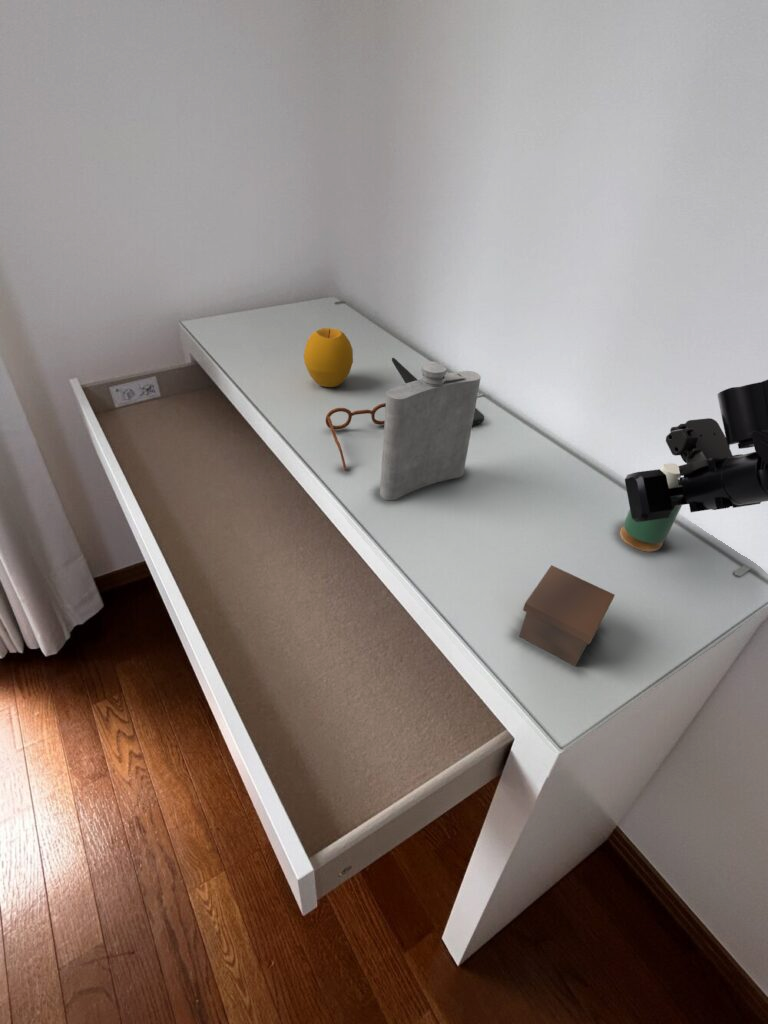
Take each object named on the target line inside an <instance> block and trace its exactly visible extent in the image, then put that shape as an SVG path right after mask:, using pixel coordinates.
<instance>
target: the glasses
mask: <svg viewBox="0 0 768 1024" xmlns="http://www.w3.org/2000/svg"><path fill="white" fill-rule="evenodd" d="M382 408H386V402H384V403H380V404H377V405H376V406H374V407H373V408H372V410H371V409H360V410H359V409H358V410H354V411H352V410H350V409H348V408H346V407H335V408H333V409H331V410H330V411H328V412H327V414H326V416H325V425H326V426H327V428H329V429H330V430H331V434H332V437H333V439H334V442H335V444H336V446H337V448H338V451H339V454H340V458H341V462H342V467H343V471H347V469H348V468H347V464H346V461H345V457H344V453H343V449H342V446H341V443H340V441H339V439H338V437H337V433H336V431H335V430H342V429H345V428H347V427H348V426H349V425H350V424H351V421H352V418H353V416H357V415H365V414H366V415H367V414H370V417H371V420H372V422H373V423H374V424H376V425H379V426H380V425H385V420H378V419H376V412H378V410H380V409H382ZM339 412H343V413H346V415H348V416H347V420H346V422H344V423H343V424H340V425H333V422H332V419H331V416H332V415H333V414H336V413H339Z"/></svg>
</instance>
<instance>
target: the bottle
mask: <svg viewBox="0 0 768 1024" xmlns="http://www.w3.org/2000/svg"><path fill="white" fill-rule="evenodd" d="M679 466H680V465H678V464H676V463H672V462H665V463H663V464H662V467H661V468H660V470H661V471H662V472H663V473H664V474H665V475H666V477H667V483H668V487H669V488H676V487H681V485H680V486H679V484H678V478H680V477H682V476H681V475H680V471H679ZM679 497H683V495H679V496H672V497H671V498H679ZM682 506H683V505H678V506H675V508H674V510H673V511H672V512H671V514H670V516H669V518H663V519H656V520H650V521H643V522H635V521H634V520H633V519H632V517H631V511H630V509H629V510H628V512H627V515H626V517H625V519H624V522H623V526H624V528H625V530H626V531H627V532H628V533H629V534H630V535H631V536H632V537H634V538H635V539H637V540H640V541H642V542H646V543H660V542H662V541H663V542H664V541H665V540H666V539H667V537H668V535H669V534H670V531H671V529H672V527H673V525H674V523H675V520H676V519H677V516H678V515H679V513H680V511H681V508H682Z"/></svg>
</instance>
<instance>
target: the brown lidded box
mask: <svg viewBox="0 0 768 1024" xmlns="http://www.w3.org/2000/svg"><path fill="white" fill-rule="evenodd" d="M615 596H616V594H614V593H612V592H610V591H608V590H606V589H603V588H601V587H599V586H597V585H595V584H593V583H591V582H589V581H587V580H584V579H582V578H580V577H578V576H576V575H574V574H572V573H569V572H567V571H565V570H563V569H561V568H559V567H557V566H554V565H550V566H549V568H548V569H547V570H546V572H545V573H544V575H543V576H542V578H541V579H540V581H539V582H538V584H537V585H536V586H535V588H534V589H533V591H532V592H531V594H530V595H529V597H528V598H527V599H526V601H525V602H524V605H523V608H522V611H523V612H525V616H524V619H523V622H522V625H521V628H520V630H519V633H518V637H519V638H521V639H523V640H525V641H527V642H529V643H530V644H533V645H535V646H536V647H538V648H540V649H542V650H544V651H545V652H548V653H550V654H551V655H553V656H555V657H557V658H559V659H560V660H563V661H564V662H566V663H568V664H569V665H572V666H574V667H576V666H577V664H578V663H579V660H580V659H581V657H582V655H583V653H584V651H585V649H586V647H587V646H588V645H590V644H591V642H592V641H593V638H594V637H595V635H596V633H597V631H598V630H599V627H600V625H601V623H602V621H603V620H604V618H605V616H606V614H607V612H608V611H609V608H610V606H611V604H612V602H613V600H614V598H615Z"/></svg>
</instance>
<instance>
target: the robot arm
mask: <svg viewBox="0 0 768 1024" xmlns="http://www.w3.org/2000/svg"><path fill="white" fill-rule="evenodd" d="M716 395H717V400H718V404H719V405H718V406H719V410H720V415H721V421H722V425H723V430H724V432H723V430H722V428H721V426H720V424H719V423H718V421H717V420H715V419H714V418H709V417H708V418H697V419H689V420H687V421H685V423H679V425H677V426H672V427H670V431H669V433H668V434H667V435H666V436H665V443H666V445H667V447H668V449H669V450H670V453H671V454H672V455H673V456H680V457H681V459H682V461H683V462H684V463H685V464H682V465H678V466H679V471H680V475H681V477H680V478H678V484H679V486H680V485H681V487H676V488H669V487H668V483H667V477H666V475H665V474H664V473H663V472H662V471H661V468H659V469H651V470H642V471H636V472H632V473H629V474H626V476H625V478H624V484H625V489H626V495H627V500H628V506H629V510H630V511H631V517H632V519H633V520H634V521H635V522H643V521H650V520H656V519H663V518H669V516H670V514H671V512H672V511H673V510H674V508H675V506H678V505H682V506H685V505H688V506H689V511H690V513H695V512H704V511H709V510H711V511H717V510H723V509H730V507H731V508H742V507H748V506H755V505H761V503H764V502H768V379H765V380H763V381H759V382H755V383H750V384H745V385H741V386H732V387H729V388H726V389H724V390H721V391H720V392H718V393H717V394H716ZM735 444H737V447H738V449H740V450H741V449H749V448H754V451H753V452H749V453H745V454H742V453H739V454H733V453H732V450H731V449H730V447H731V446H732V445H735ZM679 495H683V497H679V498H671V497H672V496H679Z"/></svg>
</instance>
